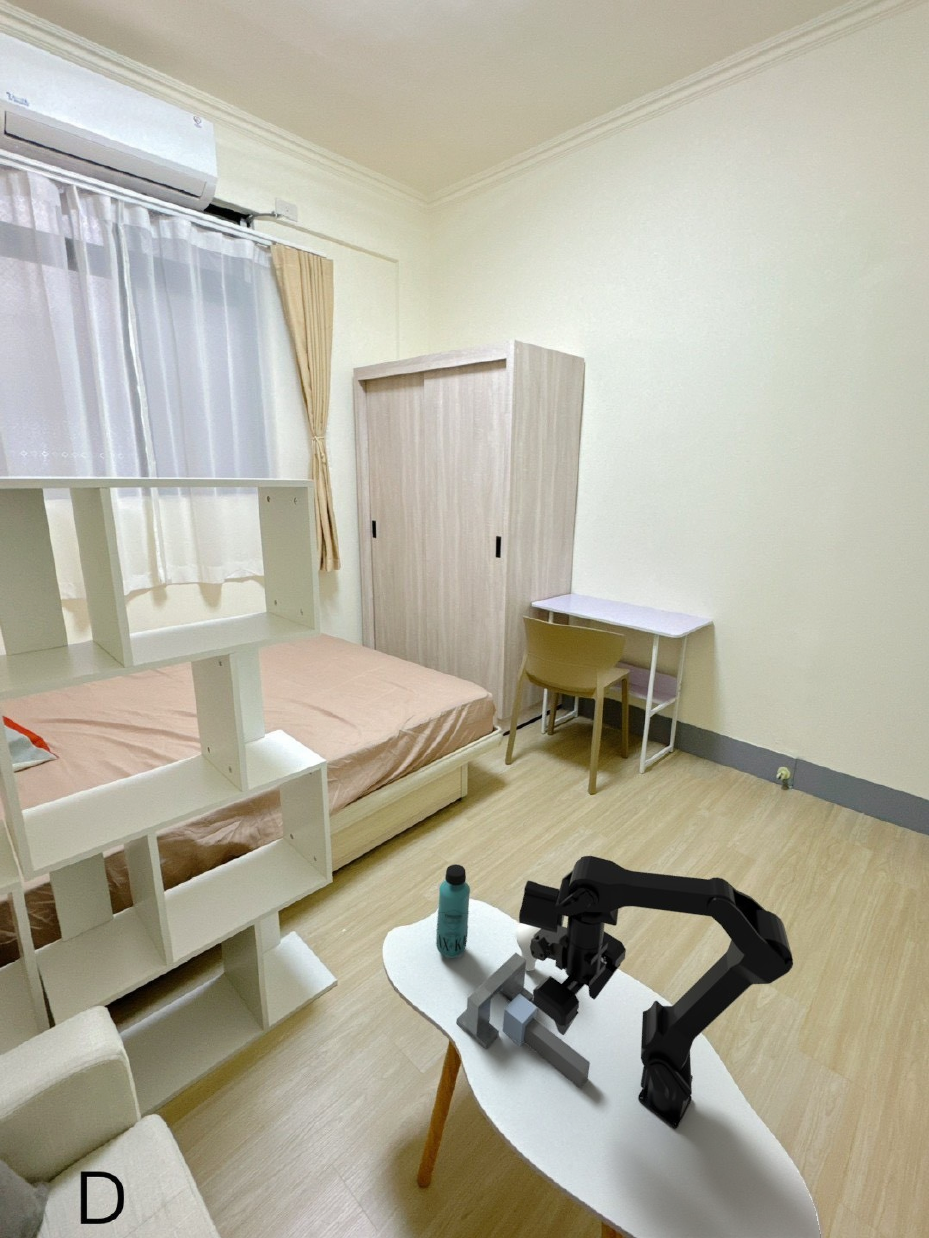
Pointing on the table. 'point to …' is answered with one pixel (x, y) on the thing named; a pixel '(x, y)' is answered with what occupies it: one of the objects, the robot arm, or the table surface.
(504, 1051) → the table surface
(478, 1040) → the gray arch-shaped bracket
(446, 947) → the beverage bottle
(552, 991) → the robot arm
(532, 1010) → the plug
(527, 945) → the lightbulb
